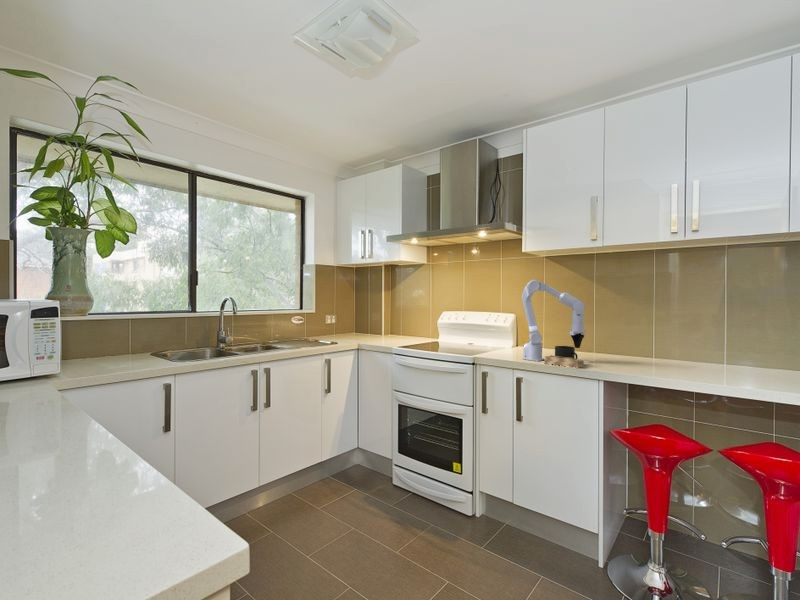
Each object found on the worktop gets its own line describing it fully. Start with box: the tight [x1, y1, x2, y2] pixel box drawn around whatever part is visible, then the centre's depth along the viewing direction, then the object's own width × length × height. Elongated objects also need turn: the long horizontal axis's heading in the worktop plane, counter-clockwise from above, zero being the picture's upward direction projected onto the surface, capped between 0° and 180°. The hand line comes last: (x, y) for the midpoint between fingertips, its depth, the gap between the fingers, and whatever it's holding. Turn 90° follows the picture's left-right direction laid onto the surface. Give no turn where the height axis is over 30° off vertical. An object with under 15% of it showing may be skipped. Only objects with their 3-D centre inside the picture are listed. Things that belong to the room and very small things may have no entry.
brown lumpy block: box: [544, 354, 584, 369], centre depth 203 cm, size 17×7×5 cm, turn 43°
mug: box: [554, 345, 578, 360], centre depth 205 cm, size 9×12×9 cm
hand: (577, 347), depth 215 cm, fingers closed
